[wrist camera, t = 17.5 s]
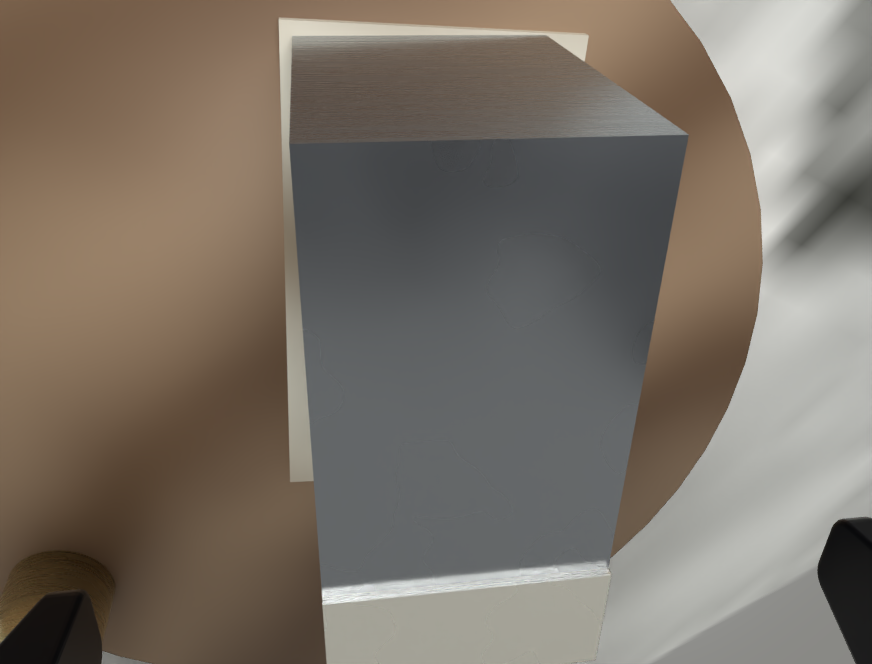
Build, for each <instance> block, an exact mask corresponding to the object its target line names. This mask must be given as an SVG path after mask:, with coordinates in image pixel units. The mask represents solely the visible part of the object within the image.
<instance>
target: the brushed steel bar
mask: <svg viewBox="0 0 872 664" xmlns="http://www.w3.org/2000/svg"><path fill="white" fill-rule="evenodd" d="M688 137H689V134H687V133H686V132H684V131H683V130H681V129H680V128H679V127H677V126H676V125H674V124H673V123H671V122H670V121H669V120H667V119H666V118H664V117H663V116H661V115H660V114H659V113H657V112H656V111H654V110H653V109H651V108H650V107H649V106H647V105H646V104H644V103H643V102H641V101H640V100H638V99H637V98H636V97H634V96H633V95H631V94H630V93H628V92H627V91H626V90H624V89H623V88H621V87H620V86H618V85H617V84H616V83H614V82H613V81H611V80H610V79H608V78H607V77H606V76H604V75H603V74H601V73H600V72H598V71H597V70H596V69H594V68H593V67H591V66H590V65H588V64H587V63H586V62H584V61H583V60H581V59H580V58H578V57H577V56H576V55H574V54H573V53H571V52H570V51H568V50H567V49H566V48H564V47H563V46H561V45H560V44H558V43H557V42H555V41H554V40H553V39H551V38H550V37H548V36H547V35H382V36H292V63H291V97H290V131H289V149H290V163H291V177H292V190H293V204H294V218H295V232H296V245H297V259H298V273H299V286H300V300H301V314H302V328H303V341H304V355H305V369H306V382H307V396H308V410H309V423H310V437H311V451H312V465H313V478H314V492H315V506H316V519H317V533H318V547H319V561H320V574H321V588H322V606H323V620H324V633H325V647H326V661H327V664H567V663H575V662H584V661H592V660H596V654H597V649H598V644H599V639H600V633H601V628H602V623H603V618H604V612H605V607H606V602H607V597H608V591H609V586H610V581H611V576H612V575H611V573H610V570H609V568H608V567H609V561H610V556H611V551H612V545H613V540H614V535H615V529H616V524H617V518H618V513H619V508H620V502H621V497H622V492H623V486H624V481H625V475H626V470H627V465H628V459H629V454H630V449H631V443H632V438H633V432H634V427H635V422H636V416H637V411H638V406H639V400H640V395H641V389H642V384H643V379H644V373H645V368H646V363H647V357H648V352H649V346H650V341H651V336H652V330H653V325H654V320H655V314H656V309H657V303H658V298H659V293H660V287H661V282H662V277H663V271H664V266H665V260H666V255H667V250H668V244H669V239H670V233H671V228H672V223H673V217H674V212H675V207H676V201H677V196H678V190H679V185H680V180H681V174H682V169H683V164H684V158H685V153H686V147H687V142H688Z"/></svg>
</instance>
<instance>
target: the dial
mask: <svg viewBox="0 0 872 664" xmlns="http://www.w3.org/2000/svg"><path fill="white" fill-rule="evenodd" d="M382 35H547V36H548V37H550V38H551V39H553V40H554V41H555V42H557V43H558V44H560V45H561V46H563V47H564V48H566V49H567V50H568V51H570V52H571V53H573V54H574V55H576V56H577V57H578V58H580V59H581V60H583V61H584V62H586V63H587V64H588V65H590V66H591V67H593V68H594V69H596V70H597V71H598V72H600V73H601V74H603V75H604V76H606V77H607V78H608V79H610V80H611V81H613V82H614V83H616V84H617V85H618V86H620V87H621V88H623V89H624V90H626V91H627V92H628V93H630V94H631V95H633V96H634V97H636V98H637V99H638V100H640V101H641V102H643V103H644V104H646V105H647V106H649V107H650V108H651V109H653V110H654V111H656V112H657V113H659V114H660V115H661V116H663V117H664V118H666V119H667V120H669V121H670V122H671V123H673V124H674V125H676V126H677V127H679V128H680V129H681V130H683V131H684V132H686V133H687V134H689V137H688V142H687V147H686V153H685V158H684V164H683V169H682V174H681V180H680V185H679V190H678V196H677V201H676V207H675V212H674V217H673V223H672V228H671V233H670V239H669V244H668V250H667V255H666V260H665V266H664V271H663V277H662V282H661V287H660V293H659V298H658V303H657V309H656V314H655V320H654V325H653V330H652V336H651V341H650V346H649V352H648V357H647V363H646V368H645V373H644V379H643V384H642V389H641V395H640V400H639V406H638V411H637V416H636V422H635V427H634V432H633V438H632V443H631V449H630V454H629V459H628V465H627V470H626V475H625V481H624V486H623V492H622V497H621V502H620V508H619V513H618V518H617V524H616V529H615V535H614V540H613V545H612V551H611V556H610V558H611V557H612V556H614V555H615V554H616V553H617V552H618V551H619V550H620V549H621V548H622V547H623V546H624V545H625V544H627V543H628V542H629V541H630V540H631V539H632V538H633V537H634V536H635V535H636V534H637V533H638V532H639V531H640V530H642V529H643V528H644V527H645V526H646V525H647V524H648V523H649V522H650V521H651V519H652V518H653V517H654V516H655V515H656V514H657V513H658V511H659V510H660V509H661V508H662V507H663V506H664V505H665V503H666V502H667V501H668V500H669V499H670V498H671V497H672V495H673V494H674V493H675V492H676V491H677V490H678V488H679V487H680V486H681V484H682V483H683V481H684V480H685V478H686V477H687V476H688V474H689V473H690V471H691V470H692V468H693V467H694V465H695V464H696V463H697V461H698V460H699V458H700V457H701V455H702V454H703V453H704V451H705V450H706V448H707V446H708V444H709V442H710V440H711V438H712V436H713V435H714V433H715V431H716V429H717V427H718V425H719V423H720V422H721V420H722V418H723V416H724V414H725V412H726V410H727V408H728V406H729V403H730V401H731V398H732V396H733V393H734V391H735V388H736V385H737V383H738V380H739V378H740V375H741V372H742V370H743V367H744V365H745V362H746V358H747V354H748V350H749V346H750V341H751V337H752V333H753V329H754V325H755V321H756V317H757V311H758V302H759V292H760V283H761V273H762V264H763V261H762V234H761V209H760V203H759V198H758V193H757V187H756V182H755V177H754V171H753V166H752V160H751V155H750V152H749V149H748V146H747V143H746V140H745V137H744V134H743V132H742V129H741V126H740V123H739V120H738V117H737V114H736V111H735V109H734V106H733V103H732V100H731V97H730V95H729V94H728V92H727V90H726V88H725V86H724V84H723V82H722V80H721V78H720V77H719V75H718V73H717V71H716V69H715V67H714V65H713V63H712V62H711V60H710V58H709V56H708V54H707V52H706V50H705V48H704V46H703V45H702V43H701V41H700V40H699V39H698V37H697V36H696V35H695V33H694V32H693V31H692V29H691V28H690V27H689V25H688V24H687V23H686V21H685V20H684V19H683V17H682V16H681V14H680V13H679V12H678V10H677V9H676V8H675V6H674V5H673V4H672V2H671V1H670V0H0V643H1V642H2V641H3V640H4V638H5V637H6V636H7V635H8V634H9V633H10V632H11V631H12V630H13V629H14V627H15V626H16V625H17V624H18V623H19V622H20V621H21V620H22V619H23V617H24V616H25V615H26V614H27V613H28V612H29V611H30V610H31V609H32V608H33V606H34V605H35V604H36V603H37V602H38V601H39V600H40V599H41V598H42V597H43V596H44V595H46V594H47V593H50V592H54V591H65V590H76V589H82V590H85V591H87V593H88V594H89V596H90V598H91V602H92V605H93V609H94V613H95V616H96V620H97V624H98V627H99V631H100V635H101V639H102V651H105V652H108V653H111V654H114V655H117V656H121V657H125V658H130V659H134V660H139V661H143V662H148V663H152V664H327V661H326V647H325V633H324V620H323V606H322V588H321V574H320V561H319V547H318V533H317V519H316V506H315V492H314V478H313V465H312V451H311V437H310V423H309V410H308V396H307V382H306V369H305V355H304V341H303V328H302V314H301V300H300V286H299V273H298V259H297V245H296V232H295V218H294V204H293V190H292V177H291V163H290V149H289V131H290V97H291V63H292V36H382Z"/></svg>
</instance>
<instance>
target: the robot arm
mask: <svg viewBox="0 0 872 664" xmlns="http://www.w3.org/2000/svg"><path fill="white" fill-rule="evenodd" d="M818 578H819V582H820V585H821V588H822V590H823V592H824V594H825V597H826V599H827V601H828V603H829V605H830V608H831V610H832V612H833V614H834V617H835V619H836V621H837V623H838V625H839V628H840V630H841V632H842V634H843V637H844V639H845V641H846V643H847V645H848V648H849V650H850V652H851V654H852V657H853V659H854V661H855V663H856V664H872V518H869V517H858V518H847V519H841V520H838V521H837V522H836V523H835V524H834V525H833V527H832V529H831V532H830V534H829V537H828V539H827V542H826V545H825V547H824V550H823V552H822V555H821V557H820V560H819V563H818ZM101 662H102V639H101V635H100V631H99V627H98V624H97V620H96V616H95V613H94V609H93V605H92V602H91V598H90V596H89V594H88V593H87V591H85V590H82V589H76V590H65V591H54V592H50V593H47V594H46V595H44V596H43V597H42V598H41V599H40V600H39V601H38V602H37V603H36V604H35V605H34V606H33V608H32V609H31V610H30V611H29V612H28V613H27V614H26V615H25V616H24V617H23V619H22V620H21V621H20V622H19V623H18V624H17V625H16V626H15V627H14V629H13V630H12V631H11V632H10V633H9V634H8V635H7V636H6V637H5V638H4V640H3V641H2V642H1V643H0V664H101Z"/></svg>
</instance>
